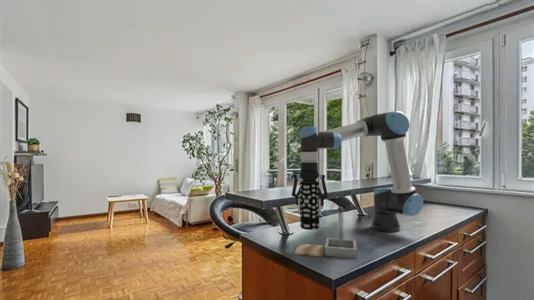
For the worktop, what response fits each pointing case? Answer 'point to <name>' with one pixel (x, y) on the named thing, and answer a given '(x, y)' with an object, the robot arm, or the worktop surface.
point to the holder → (340, 242)
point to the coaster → (310, 250)
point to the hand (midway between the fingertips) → (309, 213)
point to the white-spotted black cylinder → (309, 205)
